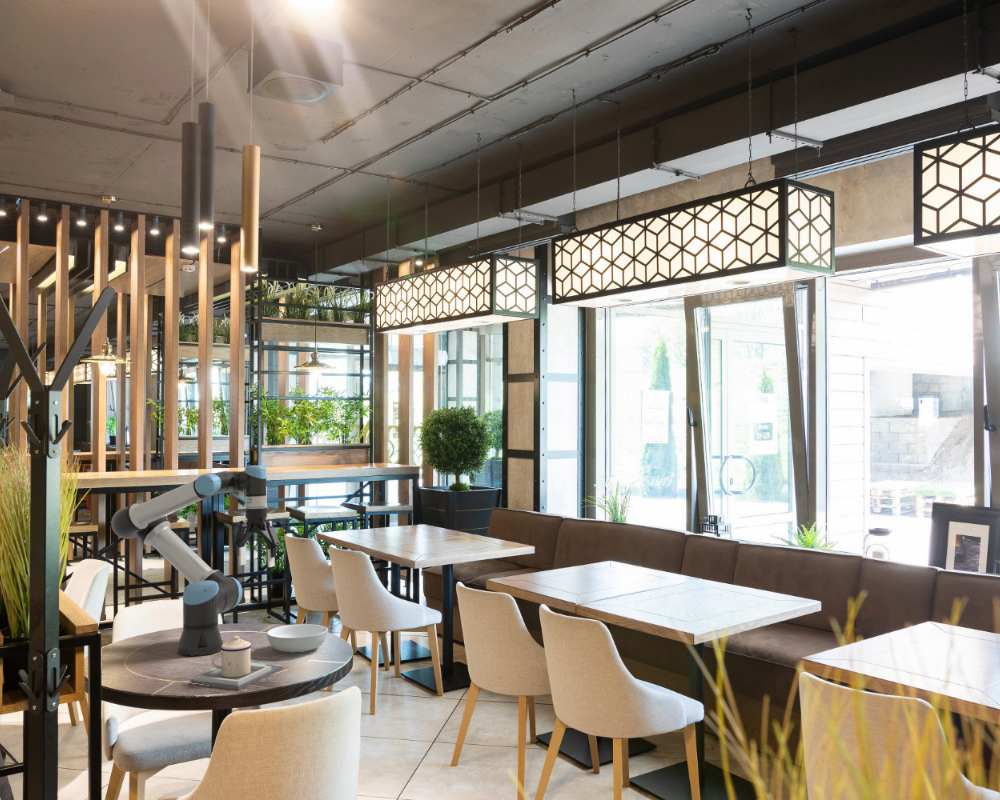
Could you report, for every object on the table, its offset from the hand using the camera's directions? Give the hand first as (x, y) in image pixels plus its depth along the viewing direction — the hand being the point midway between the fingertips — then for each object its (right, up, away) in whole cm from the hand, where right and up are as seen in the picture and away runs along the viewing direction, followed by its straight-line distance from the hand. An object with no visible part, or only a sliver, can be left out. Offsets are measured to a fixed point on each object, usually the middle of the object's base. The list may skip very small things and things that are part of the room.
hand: (256, 565), depth 297 cm
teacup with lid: (+5, -25, -43) cm, 51 cm away
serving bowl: (+18, -28, -11) cm, 35 cm away
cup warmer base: (+6, -26, -42) cm, 50 cm away
